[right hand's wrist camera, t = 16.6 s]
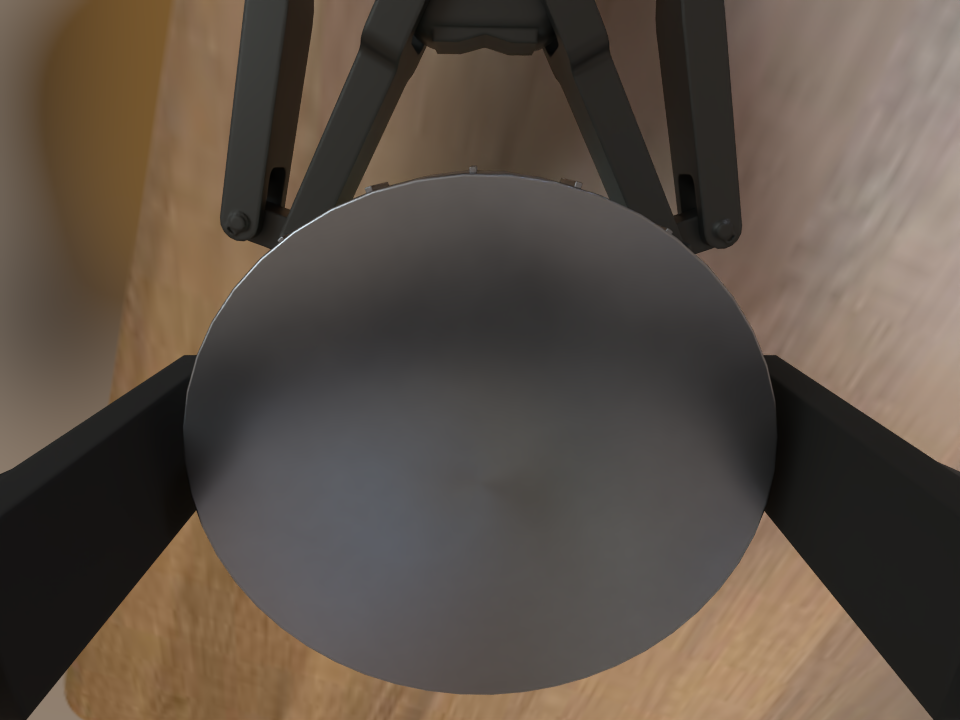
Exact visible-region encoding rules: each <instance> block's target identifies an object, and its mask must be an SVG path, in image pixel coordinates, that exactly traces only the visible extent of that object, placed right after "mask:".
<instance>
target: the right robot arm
mask: <svg viewBox="0 0 960 720" xmlns="http://www.w3.org/2000/svg"><path fill="white" fill-rule="evenodd" d="M196 356H197V355H184V356H182V357H181V358H179V359H178V360H176V361H175V362H173V363H172V364H170V365H169V366H167V367H166V368H164V369H163V370H161V371H160V372H158V373H157V374H155V375H153V376H152V377H150V378H149V379H147V380H146V381H144V382H143V383H141V384H140V385H138V386H137V387H135V388H134V389H132V390H131V391H129V392H128V393H126V394H125V395H123V396H122V397H120V398H119V399H117V400H116V401H114V402H113V403H111V404H110V405H108V406H107V407H105V408H104V409H102V410H101V411H99V412H97V413H96V414H94V415H93V416H91V417H90V418H88V419H87V420H85V421H84V422H82V423H81V424H79V425H78V426H76V427H75V428H73V429H72V430H70V431H69V432H67V433H66V434H64V435H63V436H61V437H60V438H58V439H57V440H55V441H54V442H52V443H51V444H49V445H48V446H46V447H45V448H43V449H41V450H40V451H38V452H37V453H35V454H34V455H32V456H31V457H29V458H28V459H26V460H25V461H23V462H22V463H20V464H19V465H17V466H16V467H14V468H13V469H11V470H9V471H6V472H4V473H2V474H0V720H27V718H28V717H29V716H30V715H31V713H32V712H33V711H34V710H35V708H36V707H37V706H38V705H39V704H40V702H41V701H42V700H43V699H44V697H45V696H46V695H47V694H48V692H49V691H50V690H51V689H52V687H53V686H54V685H55V684H56V683H57V681H58V680H59V679H60V678H61V676H62V675H63V674H64V673H65V671H66V670H67V669H68V668H69V667H70V665H71V664H72V663H73V662H74V660H75V659H76V658H77V657H78V655H79V654H80V653H81V652H82V650H83V649H84V648H85V647H86V646H87V644H88V643H89V642H90V641H91V639H92V638H93V637H94V636H95V634H96V633H97V632H98V631H99V629H100V628H101V627H102V626H103V625H104V623H105V622H106V621H107V620H108V618H109V617H110V616H111V615H112V613H113V612H114V611H115V610H116V608H117V607H118V606H119V605H120V604H121V602H122V601H123V600H124V599H125V597H126V596H127V595H128V594H129V592H130V591H131V590H132V589H133V588H134V586H135V585H136V584H137V583H138V581H139V580H140V579H141V578H142V576H143V575H144V574H145V573H146V571H147V570H148V569H149V568H150V567H151V565H152V564H153V563H154V562H155V560H156V559H157V558H158V557H159V555H160V554H161V553H162V552H163V550H164V549H165V548H166V547H167V546H168V544H169V543H170V542H171V541H172V539H173V538H174V537H175V536H176V534H177V533H178V532H179V531H180V529H181V528H182V527H183V526H184V525H185V523H186V522H187V521H188V520H189V518H190V517H191V516H192V515H193V513H194V512H195V511H196V508H195V505H194V502H193V499H192V496H191V492H190V487H189V482H188V477H187V472H186V467H185V461H184V438H183V423H184V414H185V405H186V396H187V389H188V386H189V382H190V378H191V375H192V371H193V367H194V364H195V360H196ZM763 356H764V359H765V361H766V364H767V367H768V371H769V375H770V380H771V384H772V389H773V393H774V398H775V404H776V419H777V434H778V439H777V451H776V462H775V472H774V476H773V480H772V485H771V489H770V493H769V497H768V502H767V505H766V507H765V510H764V511H765V512H766V513H767V515H768V516H769V517H770V518H771V520H772V521H773V522H774V523H775V525H776V526H777V527H778V528H779V529H780V531H781V532H782V533H783V534H784V536H785V537H786V538H787V539H788V541H789V542H790V543H791V544H792V546H793V547H794V548H795V549H796V550H797V552H798V553H799V554H800V555H801V557H802V558H803V559H804V560H805V562H806V563H807V564H808V565H809V567H810V568H811V569H812V570H813V571H814V573H815V574H816V575H817V576H818V578H819V579H820V580H821V581H822V583H823V584H824V585H825V586H826V588H827V589H828V590H829V591H830V592H831V594H832V595H833V596H834V597H835V599H836V600H837V601H838V602H839V604H840V605H841V606H842V607H843V608H844V610H845V611H846V612H847V613H848V615H849V616H850V617H851V618H852V620H853V621H854V622H855V623H856V625H857V626H858V627H859V628H860V629H861V631H862V632H863V633H864V634H865V636H866V637H867V638H868V639H869V641H870V642H871V643H872V644H873V646H874V647H875V648H876V649H877V650H878V652H879V653H880V654H881V655H882V657H883V658H884V659H885V660H886V662H887V663H888V664H889V665H890V667H891V668H892V669H893V670H894V671H895V673H896V674H897V675H898V676H899V678H900V679H901V680H902V681H903V683H904V684H905V685H906V686H907V687H908V689H909V690H910V691H911V692H912V694H913V695H914V696H915V697H916V699H917V700H918V701H919V702H920V704H921V705H922V706H923V707H924V708H925V710H926V711H927V712H928V713H929V715H930V716H931V717H932V718H933V720H960V472H959V471H957V470H955V469H953V468H950V467H948V466H946V465H943V464H941V463H939V462H937V461H935V460H934V459H932V458H931V457H929V456H928V455H926V454H925V453H923V452H922V451H920V450H919V449H917V448H915V447H914V446H912V445H911V444H909V443H908V442H906V441H905V440H903V439H902V438H900V437H899V436H897V435H896V434H894V433H893V432H891V431H890V430H888V429H887V428H885V427H884V426H882V425H881V424H879V423H878V422H876V421H875V420H873V419H872V418H870V417H869V416H867V415H866V414H864V413H863V412H861V411H859V410H858V409H856V408H855V407H853V406H852V405H850V404H849V403H847V402H846V401H844V400H843V399H841V398H840V397H838V396H837V395H835V394H834V393H832V392H831V391H829V390H828V389H826V388H825V387H823V386H822V385H820V384H819V383H817V382H816V381H814V380H813V379H811V378H810V377H808V376H807V375H805V374H803V373H802V372H800V371H799V370H797V369H796V368H794V367H793V366H791V365H790V364H788V363H787V362H785V361H784V360H782V359H781V358H779V357H778V356H776V355H763Z"/></svg>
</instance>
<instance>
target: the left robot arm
mask: <svg viewBox="0 0 960 720" xmlns="http://www.w3.org/2000/svg"><path fill="white" fill-rule="evenodd" d="M313 15H314V0H245V5H244V13H243V22H242V31H241V40H240V48H239V57H238V66H237V75H236V83H235V92H234V101H233V109H232V118H231V127H230V136H229V144H228V153H227V162H226V170H225V179H224V188H223V197H222V205H221V214H220V222H221V226H222V228H223V230H224V232H225V233H226V234H227V235H228V236H229V237H230V238H232V239H234V240H236V241H246V240H248V241H251V242H253V243H256V244H259V245H262V246H264V247H267V248H269V249H272V248H273V247H275V246H276V245H277V244H278V243H279V242H278V240H279V239H280V238H281V237H282V236H285V235H288V234H290V233H292V232H293V231H294V230H296V229H297V228H299V227H301V226H302V225H304V224H306V223H307V222H309V221H311V220H312V219H314V218H316V217H317V216H319V215H321V214H322V213H324V212H326V211H327V210H329V209H331V208H333V207H335V206H338V205H340V204H342V203H345V202H347V201H349V200H352V199H353V197H354V195H355V193H356V190H357V188H358V186H359V184H360V182H361V180H362V177H363V175H364V173H365V171H366V169H367V167H368V165H369V162H370V160H371V158H372V156H373V154H374V152H375V150H376V147H377V145H378V143H379V141H380V139H381V137H382V135H383V132H384V130H385V128H386V126H387V124H388V122H389V120H390V117H391V115H392V113H393V111H394V109H395V107H396V105H397V102H398V100H399V98H400V96H401V94H402V92H403V90H404V87H405V85H406V83H407V82H408V80H409V79H410V78H411V76H412V75H413V73H414V71H415V70H416V68H417V65H418V63H419V61H420V59H421V57H422V55H423V53H424V50H425V48H426V46H428V47H430V48H433V49H436V51H437V54H463V53H466V52H470V51H473V50H477V49H480V48H488V49H492V50H495V51H498V52H501V53H504V54H507V55H532V54H533V52H534V51H536V50H539V49H542V48H543V51H544V53H545V55H546V58H547V60H548V62H549V65H550V67H551V69H552V71H553V74H554V76H555V77H556V79H557V80H558V82H559V83H560V85H561V86H562V89H563V91H564V93H565V96H566V98H567V100H568V103H569V105H570V107H571V110H572V112H573V114H574V117H575V119H576V121H577V124H578V126H579V129H580V131H581V133H582V136H583V138H584V140H585V143H586V145H587V147H588V150H589V152H590V154H591V157H592V159H593V161H594V164H595V166H596V169H597V171H598V173H599V176H600V178H601V180H602V183H603V185H604V187H605V190H606V192H607V194H608V197H609V199H610V200H612V201H614V202H616V203H618V204H620V205H622V206H624V207H627V208H629V209H631V210H633V211H635V212H637V213H639V214H641V215H643V216H644V217H646V218H647V219H649V220H650V221H652V222H653V223H655V224H658V225H660V226H663V227H666V228H668V229H670V230H671V231H672V235H673V236H675V237H676V238H677V239H678V240H680V241H681V242H682V243H683V244H684V245H685V246H686V247H687V248H689V249H690V250H691V251H692V252H693V253H694V254H697V253H700V252H703V251H706V250H709V249H712V248H717V249H724V248H727V247H729V246H732V245H733V244H734V243H735V242H736V241H737V240H738V238H739V236H740V234H741V230H742V220H741V208H740V195H739V183H738V170H737V158H736V145H735V133H734V120H733V107H732V95H731V82H730V70H729V57H728V45H727V32H726V20H725V7H724V0H656V32H657V41H658V50H659V58H660V67H661V75H662V84H663V92H664V100H665V109H666V117H667V126H668V134H669V143H670V151H671V160H672V168H673V176H674V185H675V193H676V202H677V210H678V214H677V215H674V216H673V214H672V212H671V209H670V206H669V204H668V201H667V199H666V196H665V194H664V191H663V188H662V186H661V183H660V181H659V178H658V176H657V173H656V171H655V168H654V165H653V163H652V160H651V158H650V155H649V153H648V150H647V147H646V145H645V142H644V140H643V137H642V135H641V132H640V130H639V127H638V124H637V122H636V119H635V117H634V114H633V112H632V109H631V106H630V104H629V101H628V99H627V96H626V94H625V91H624V88H623V86H622V83H621V81H620V78H619V76H618V73H617V71H616V68H615V65H614V63H613V60H612V58H611V55H610V50H609V40H608V35H607V32H606V29H605V26H604V24H603V21H602V19H601V16H600V13H599V11H598V8H597V6H596V3H595V0H375V2H374V5H373V7H372V9H371V12H370V14H369V16H368V19H367V21H366V23H365V26H364V29H363V32H362V36H361V44H360V49H359V51H358V54H357V56H356V59H355V61H354V63H353V66H352V68H351V70H350V73H349V75H348V77H347V80H346V82H345V84H344V86H343V89H342V91H341V93H340V96H339V98H338V100H337V103H336V105H335V107H334V110H333V112H332V114H331V117H330V119H329V121H328V124H327V126H326V128H325V131H324V133H323V135H322V137H321V140H320V142H319V144H318V147H317V149H316V151H315V154H314V156H313V158H312V161H311V163H310V165H309V168H308V170H307V172H306V175H305V177H304V179H303V182H302V184H301V186H300V189H299V191H298V193H297V195H296V198H295V200H294V202H293V205H292V207H291V209H290V210H289V209H287V208H285V201H286V195H287V188H288V182H289V175H290V169H291V162H292V156H293V149H294V143H295V136H296V130H297V123H298V117H299V110H300V104H301V97H302V91H303V84H304V78H305V71H306V65H307V58H308V52H309V45H310V39H311V32H312V25H313Z"/></svg>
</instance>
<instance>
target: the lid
mask: <svg viewBox="0 0 960 720" xmlns="http://www.w3.org/2000/svg"><path fill="white" fill-rule="evenodd" d="M581 187H582V183H580V182H577V181H573V180H568V179H564V178H561V180H560V183H559V182H556V181H552V180H549V179H545V178H542V177H537V176H530V175H524V174H518V173H512V172H505V171H477V166H471V167H470V171H459V172H451V173H442V174H434V175H428V176H424V177H421V178H417V179H413V180H409V181H405V182H402V183H398V184H394V185H391V186H389V184H388V182H385V183H381V184H377V185H373V186H369V187H366V188H365V190H366V194H364V195H361V196H359V197H356V198H354V199H352V200H349V201H347V202H345V203H342V204H340V205H338V206H335V207H333V208H331V209H329V210H327V211H326V212H324V213H322V214H321V215H319V216H317V217H316V218H314V219H312V220H311V221H309V222H307V223H306V224H304V225H302V226H301V227H299V228H297V229H296V230H294V231H293V232H292V233H290V234H288V235H285V236H282V237H281V238H280V239H279V240H278V242H279V243H278V244H277V245H276V246H275V247H273V248H272V249H271V250H270V251H269V252H267V253H266V254H265V255H264V256H262V257H261V258H260V259H259V260H258V262H257V263H256V264H255V265H254V266H253V267H252V268H251V269H250V270H249V272H248V273H247V274H246V275H245V276H244V277H243V278H242V279H241V281H240V282H239V283H238V284H237V285H236V286H235V287H234V288H233V290H232V291H231V293H230V294H229V296H228V298H227V299H226V301H225V302H224V304H223V305H222V307H221V308H220V310H219V311H218V313H217V314H216V316H215V318H214V319H213V321H212V323H211V325H210V327H209V329H208V331H207V334H206V336H205V338H204V340H203V343H202V345H201V347H200V349H199V352H198V354H197V356H196V360H195V364H194V367H193V371H192V375H191V378H190V382H189V386H188V389H187V396H186V405H185V414H184V423H183V438H184V461H185V467H186V472H187V477H188V482H189V487H190V492H191V496H192V499H193V502H194V505H195V508H196V511H197V513H198V516H199V519H200V522H201V525H202V527H203V529H204V531H205V533H206V535H207V537H208V539H209V541H210V543H211V545H212V547H213V549H214V551H215V553H216V555H217V556H218V558H219V559H220V561H221V562H222V563H223V565H224V566H225V568H226V569H227V571H228V572H229V574H230V575H231V577H232V578H233V579H234V581H235V582H236V583H237V585H238V586H239V587H240V588H241V589H242V590H243V591H244V592H245V594H246V595H247V596H248V597H249V598H250V599H251V600H252V601H253V603H254V604H255V605H256V606H257V607H258V608H259V609H260V610H262V611H263V612H264V613H265V614H266V615H267V616H268V617H269V618H271V619H272V620H273V621H274V622H275V623H276V624H277V625H278V626H280V627H281V628H282V629H283V630H285V631H286V632H288V633H289V634H291V635H292V636H293V637H295V638H296V639H298V640H299V641H301V642H302V643H303V644H305V645H306V646H308V647H309V648H311V649H313V650H315V651H317V652H318V653H320V654H322V655H324V656H326V657H328V658H329V659H331V660H333V661H335V662H337V663H339V664H342V665H344V666H346V667H349V668H351V669H353V670H356V671H358V672H360V673H363V674H365V675H368V676H371V677H375V678H378V679H381V680H384V681H387V682H391V683H394V684H397V685H402V686H407V687H412V688H417V689H422V690H426V691H434V692H444V693H453V694H479V695H494V694H506V693H518V692H527V691H533V690H538V689H544V688H549V687H555V686H559V685H562V684H566V683H569V682H573V681H576V680H580V679H584V678H587V677H590V676H592V675H595V674H597V673H600V672H602V671H605V670H607V669H610V668H612V667H615V666H617V665H619V664H621V663H623V662H625V661H627V660H629V659H631V658H633V657H635V656H637V655H639V654H641V653H643V652H644V651H646V650H648V649H649V648H651V647H652V646H654V645H655V644H657V643H658V642H660V641H661V640H663V639H664V638H666V637H667V636H669V635H670V634H672V633H673V632H674V631H676V630H677V629H678V628H679V627H680V626H682V625H683V624H684V623H685V622H686V621H688V620H689V619H690V618H691V617H692V616H694V615H695V614H696V613H697V612H698V611H699V610H700V609H701V608H702V607H703V606H704V605H705V604H706V603H707V602H708V601H709V600H710V599H711V598H712V596H713V595H714V594H715V593H716V592H717V591H718V590H719V589H720V588H721V586H722V585H723V584H724V582H725V581H726V580H727V578H728V577H729V576H730V574H731V573H732V572H733V570H734V569H735V568H736V566H737V565H738V564H739V562H740V560H741V558H742V557H743V555H744V553H745V551H746V549H747V548H748V546H749V544H750V542H751V540H752V539H753V537H754V535H755V533H756V530H757V528H758V525H759V523H760V520H761V518H762V515H763V512H764V510H765V507H766V505H767V502H768V497H769V493H770V489H771V485H772V480H773V476H774V472H775V462H776V451H777V439H778V434H777V419H776V404H775V398H774V393H773V389H772V384H771V380H770V375H769V371H768V367H767V364H766V361H765V359H764V356H763V354H762V351H761V348H760V346H759V343H758V341H757V338H756V336H755V333H754V331H753V329H752V327H751V326H750V324H749V322H748V321H747V319H746V317H745V316H744V314H743V312H742V310H741V309H740V307H739V305H738V304H737V302H736V300H735V299H734V297H733V296H732V295H731V293H730V292H729V291H728V290H727V289H726V287H725V286H724V285H723V284H722V282H721V281H720V280H719V279H718V278H717V276H716V275H715V274H714V273H713V271H712V270H711V269H710V268H709V267H708V266H707V265H706V264H705V263H704V262H703V261H702V260H701V259H700V258H699V257H697V256H696V255H695V254H694V253H693V252H692V251H691V250H690V249H689V248H687V247H686V246H685V245H684V244H683V243H682V242H681V241H680V240H678V239H677V238H676V237H675V236H673V235H672V231H671V230H670V229H668V228H666V227H663V226H660V225H658V224H655V223H653V222H652V221H650V220H649V219H647V218H646V217H644V216H643V215H641V214H639V213H637V212H635V211H633V210H631V209H629V208H627V207H624V206H622V205H620V204H618V203H616V202H614V201H612V200H610V199H607V198H605V197H603V196H601V195H598V194H595V193H592V192H589V191H585V190H582V189H581Z"/></svg>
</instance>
